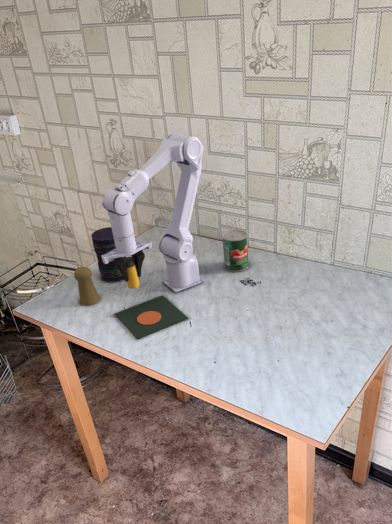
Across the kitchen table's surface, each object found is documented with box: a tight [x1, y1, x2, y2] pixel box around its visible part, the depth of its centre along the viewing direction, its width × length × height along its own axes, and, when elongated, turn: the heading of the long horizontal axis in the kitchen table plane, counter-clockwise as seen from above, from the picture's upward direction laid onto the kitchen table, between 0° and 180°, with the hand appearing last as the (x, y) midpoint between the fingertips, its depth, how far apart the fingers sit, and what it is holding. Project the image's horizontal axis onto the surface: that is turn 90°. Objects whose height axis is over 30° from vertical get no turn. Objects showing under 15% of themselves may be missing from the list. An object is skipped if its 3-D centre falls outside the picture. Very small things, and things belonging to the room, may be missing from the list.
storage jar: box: [90, 226, 127, 283], centre depth 166 cm, size 10×10×15 cm
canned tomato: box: [221, 229, 250, 273], centre depth 163 cm, size 8×8×11 cm
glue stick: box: [124, 256, 140, 290], centre depth 146 cm, size 4×4×8 cm
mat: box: [114, 294, 189, 340], centre depth 147 cm, size 16×16×1 cm
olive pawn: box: [73, 266, 100, 306], centre depth 155 cm, size 6×6×11 cm
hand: (132, 277), depth 147 cm, fingers closed on glue stick, 3 cm apart
